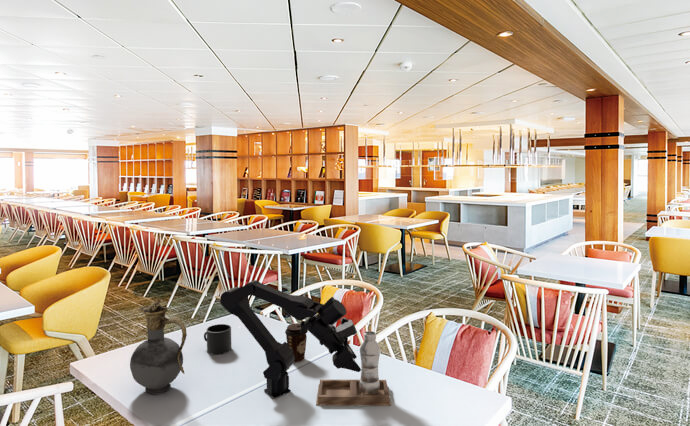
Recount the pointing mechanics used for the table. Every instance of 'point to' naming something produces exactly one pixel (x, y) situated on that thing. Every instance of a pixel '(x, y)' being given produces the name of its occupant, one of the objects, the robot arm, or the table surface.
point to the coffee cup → (296, 341)
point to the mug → (218, 339)
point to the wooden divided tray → (350, 394)
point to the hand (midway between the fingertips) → (357, 364)
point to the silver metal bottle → (369, 364)
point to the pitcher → (157, 352)
